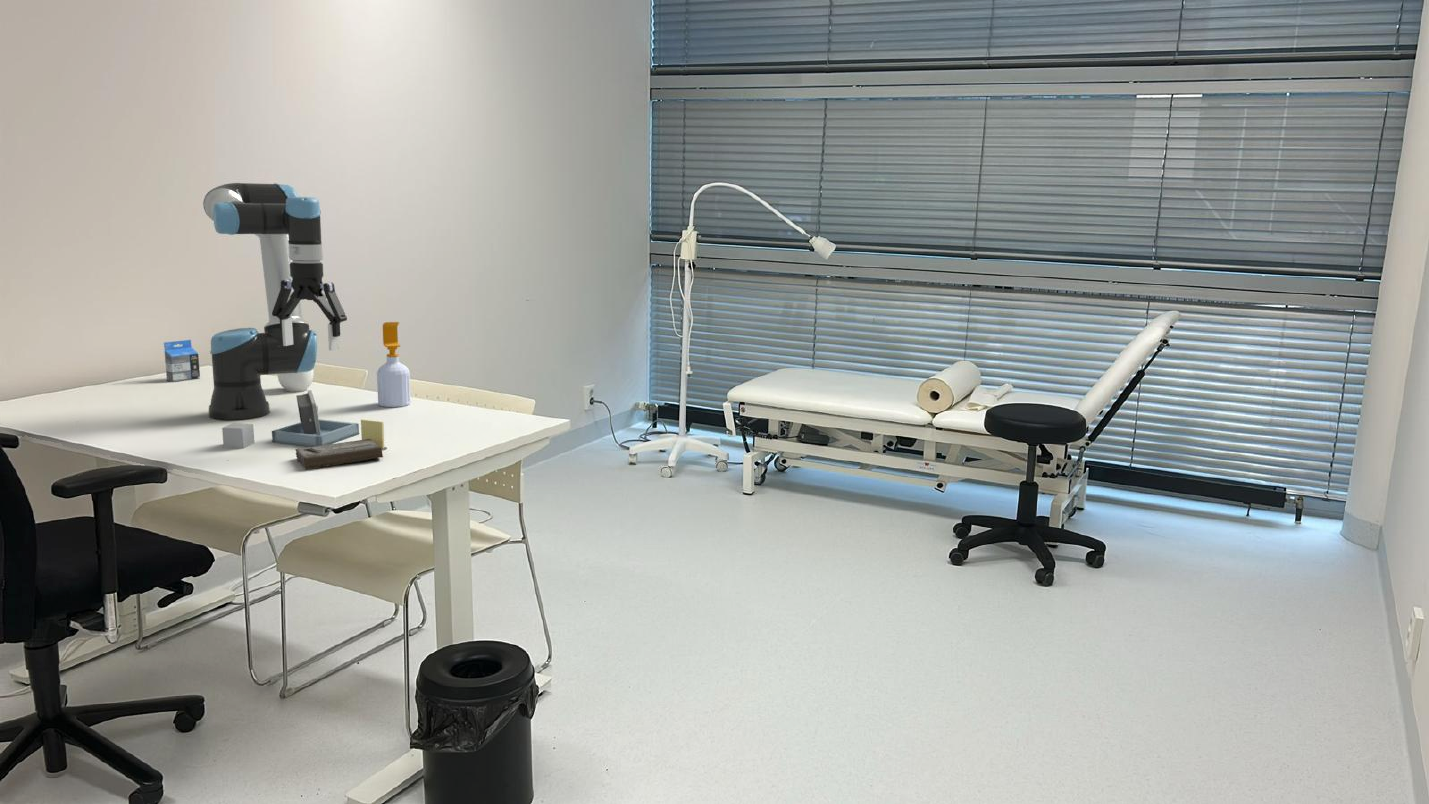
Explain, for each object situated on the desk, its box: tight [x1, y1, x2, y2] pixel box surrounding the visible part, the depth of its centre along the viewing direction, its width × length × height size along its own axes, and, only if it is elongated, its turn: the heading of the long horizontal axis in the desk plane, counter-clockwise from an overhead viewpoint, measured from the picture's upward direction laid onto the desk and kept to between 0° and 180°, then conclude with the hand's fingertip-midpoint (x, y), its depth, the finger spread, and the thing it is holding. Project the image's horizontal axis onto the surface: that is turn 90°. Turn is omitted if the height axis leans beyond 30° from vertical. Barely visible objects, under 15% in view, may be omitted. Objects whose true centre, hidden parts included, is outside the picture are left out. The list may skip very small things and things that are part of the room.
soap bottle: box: [376, 321, 412, 408], centre depth 282 cm, size 9×9×25 cm
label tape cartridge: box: [163, 339, 201, 383], centre depth 309 cm, size 9×4×12 cm, turn 147°
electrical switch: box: [296, 389, 321, 435], centre depth 243 cm, size 9×5×9 cm, turn 29°
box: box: [295, 439, 384, 471], centre depth 225 cm, size 11×17×3 cm, turn 123°
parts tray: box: [271, 418, 360, 447], centre depth 244 cm, size 14×15×3 cm
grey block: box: [221, 422, 255, 449], centre depth 235 cm, size 5×5×5 cm
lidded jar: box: [276, 367, 315, 393], centre depth 299 cm, size 11×11×9 cm
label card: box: [360, 419, 388, 451], centre depth 235 cm, size 6×2×7 cm, turn 73°
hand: (311, 347), depth 240 cm, fingers open, 13 cm apart
